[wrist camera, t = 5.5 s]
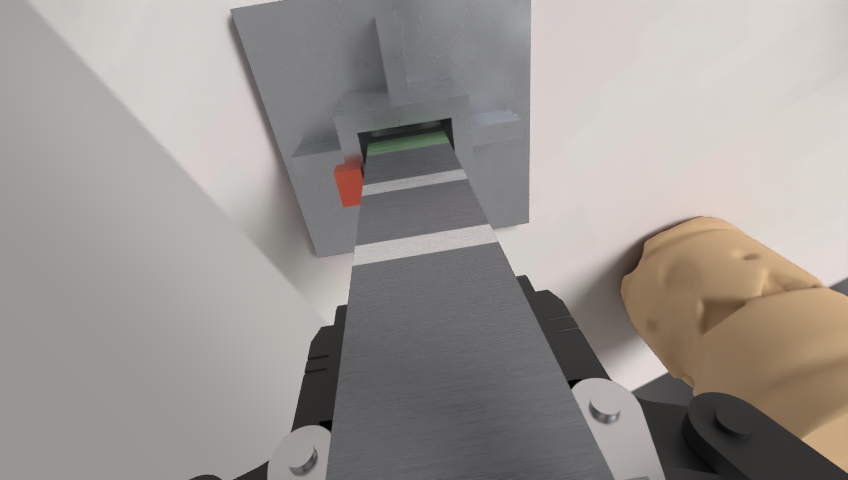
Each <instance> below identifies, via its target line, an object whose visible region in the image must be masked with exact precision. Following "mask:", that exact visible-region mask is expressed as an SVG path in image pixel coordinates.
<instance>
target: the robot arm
mask: <svg viewBox="0 0 848 480" xmlns="http://www.w3.org/2000/svg"><path fill="white" fill-rule="evenodd" d="M516 278H517V280H518V283H519V285H520V287H521V289H522V291H523V293H524V295H525V297H526V299H527V301H528V303H529V305H530V307H531V309H532V311H533V313H534V315H535V317H536V319H537V321H538V323H539V325H540V327H541V329H542V332H543V334H544V336H545V338H546V340H547V342H548V344H549V346H550V348H551V350H552V352H553V354H554V356H555V358H556V360H557V362H558V364H559V366H560V368H561V370H562V372H563V374H564V376H565V378H566V380H567V383H568V385H569V387H570V389H571V391H572V393H573V395H574V397H575V399H576V401H577V403H578V405H579V407H580V409H581V411H582V413H583V415H584V417H585V419H586V421H587V423H588V425H589V427H590V429H591V432H592V434H593V436H594V438H595V440H596V442H597V444H598V446H599V448H600V450H601V452H602V454H603V456H604V458H605V460H606V462H607V464H608V466H609V468H610V470H611V472H612V474H613V476H614V478H615V480H626V479H632V478H638V477H644V476H648V478H649V479H650V480H848V473H847V472H845V471H844V470H843V469H841V468H840V467H838V466H837V465H836V464H834V463H833V462H831V461H830V460H829V459H827V458H826V457H824V456H823V455H822V454H820V453H819V452H817V451H816V450H815V449H813V448H812V447H810V446H809V445H808V444H806V443H805V442H803V441H802V440H801V439H799V438H798V437H796V436H795V435H794V434H792V433H791V432H789V431H788V430H787V429H785V428H784V427H782V426H781V425H780V424H778V423H777V422H775V421H774V420H773V419H771V418H770V417H768V416H767V415H766V414H764V413H763V412H761V411H760V410H759V409H757V408H756V407H754V406H753V405H751V404H750V403H748V402H746V401H744V400H742V399H740V398H737V397H735V396H732V395H729V394H725V393H720V392H705V393H701V394H699V395H697V396H695V397H694V398H693V399H692V400H691V401H690V403H689V406H681V405H674V404H666V403H658V402H651V401H646V400H643V399H640V398H637V397H635V396H633V394H632V393H631V392H630V391H628V390H627V389H626V388H624V387H623V386H621V385H619V384H618V383H616V382H613V381H612V380H611V379H610V377H609V376H608V375H607V373H606V371H605V370H604V368H603V367H602V365H601V363H600V362H599V360H598V358H597V357H596V355H595V353H594V352H593V350H592V348H591V347H590V345H589V344H588V342H587V340H586V339H585V337H584V335H583V334H582V332H581V330H579V329H578V325H577V324H576V322H575V321H574V319H573V318H572V317H571V314H570V312H569V311H568V309H567V307H566V306H565V304H564V303H563V301H562V300H561V299H560V298H558V297H557V296H555V295H554V294H553V293H551V292H550V291H549V290H543V291H537V292H535V290H534V288H533V287H532V285H531V283H530V281H529V279H528V277H527V276H526V275H523V276H517V277H516ZM347 306H348V304H347V305H341V306H338V307H337V309H336V315H335V321H334V325H331V326H325V327H321V329H320V330H319V331H318V333H317V334H316V336H315V337H314V339H313V340H312V342H311V345H310V350H309V354H308V361H307V363H306V368H305V375H304V377H303V381H302V386H301V390H300V395H299V399H298V404H297V408H296V413H295V417H294V422H293V426H292V430H291V433H290V434H288V435H287V436H286V437H285V438H284V439H283V440H282V441H281V442H280V443H279V444H278V446H277V447H276V448H275V450H274V451H273V453H272V456H271V458H270V460H269V461H267V462H266V463H264V464H263V465H261V466H259V467H258V468H256V469H254V470H252V471H250V472H248V473H246V474H244V475H242V476H240V477H238V478H236V479H234V480H325V478H326V470H327V462H328V454H329V447H330V439H331V431H332V423H333V415H334V407H335V400H336V392H337V384H338V376H339V368H340V360H341V353H342V345H343V337H344V329H345V321H346V313H347ZM190 480H221V479H220V478H219V477H216V476H214V475H201V476H197V477H195V478H193V479H190Z"/></svg>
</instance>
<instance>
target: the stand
mask: <svg viewBox="0 0 848 480" xmlns="http://www.w3.org/2000/svg"><path fill="white" fill-rule="evenodd" d="M230 11H231V13H232V16H233V19H234V22H235V25H236V28H237V30H238V33H239V36H240V39H241V42H242V45H243V47H244V50H245V53H246V56H247V59H248V62H249V64H250V67H251V70H252V73H253V76H254V79H255V81H256V84H257V87H258V90H259V93H260V96H261V98H262V101H263V104H264V107H265V110H266V113H267V115H268V118H269V121H270V124H271V127H272V130H273V132H274V135H275V138H276V141H277V144H278V147H279V149H280V152H281V155H282V158H283V161H284V164H285V166H286V169H287V172H288V175H289V178H290V180H291V183H292V186H293V189H294V192H295V195H296V197H297V200H298V203H299V206H300V209H301V212H302V214H303V217H304V220H305V223H306V226H307V229H308V231H309V234H310V237H311V240H312V243H313V246H314V248H315V251H316V254H317V257H318V258H320V257H326V256H332V255H338V254H344V253H350V252H354V251H355V243H356V235H357V227H358V220H359V212H360V204H361V196H362V188H363V180H364V173H365V165H366V157H367V149H368V141H369V138H372V137H378V136H384V135H390V134H396V133H402V132H408V131H414V130H420V129H426V128H432V127H438V126H442V127H443V129H444V132H445V134H446V136H447V138H448V140H449V142H450V144H451V146H452V148H453V150H454V152H455V154H456V156H457V158H458V160H459V162H460V164H461V166H462V168H463V170H464V172H465V174H466V176H467V178H468V180H469V183H470V185H471V187H472V189H473V191H474V193H475V195H476V197H477V199H478V201H479V203H480V205H481V207H482V209H483V211H484V213H485V215H486V217H487V219H488V221H489V223H490V225H491V227H492V229H495V228H501V227H507V226H513V225H519V224H525V223H529V154H530V49H531V0H283V1H277V2H271V3H265V4H259V5H253V6H246V7H240V8H234V9H230Z"/></svg>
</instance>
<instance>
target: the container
mask: <svg viewBox="0 0 848 480" xmlns="http://www.w3.org/2000/svg"><path fill="white" fill-rule="evenodd" d="M643 249H644V251H643V255H642V258H641V259H640V261H639V264H638V266H637V268H636V269H635V270H634V271H633V272H631V273H630V274H628V275H624V277H623V280H622V286H621V296H622V299H623V302H624V304H625V307H626V310H627V313H628V315H629V317H630V320H631V322H632V325H633V327H634V328H635V329H636V331H637V332H638V333H639V334H640V336H641V337H642V338H643V340H644V341H645V342H646V343H647V345H648V346H649V347H650V349H651V350H652V351H653V352H654V354H655V355H656V356H657V357H658V359H659V360H660V361H661V362H662V364H663V365H664V366H665V367H666V369H667V370H668V371H669V373H670V374H671V375H672V376H673V377H674V378H681V379H683V380H684V381H685V382H686V383H687V384H689V385H690V386H691V387H693V388H694V391H693V394H694V396H697V395H699V394H701V393H705V392H720V393H725V394H729V395H732V396H735V397H737V398H740V399H742V400H744V401H746V402H748V403H750V404H751V405H753V406H754V407H756V408H757V409H759V410H760V411H761V412H763V413H764V414H766V415H767V416H768V417H770V418H771V419H773V420H774V421H775V422H777V423H778V424H780V425H781V426H782V427H784V428H785V429H787V430H788V431H789V432H791V433H792V434H794V435H795V436H796V437H798V438H799V439H801V440H802V441H803V442H805V443H806V444H808V445H809V446H810V447H812V448H813V449H815V450H816V451H817V452H819V453H820V454H822V455H823V456H824V457H826V458H827V459H829V460H830V461H831V462H833V463H834V464H836V465H837V466H838V467H840V468H841V469H843V470H844V471H845V472H847V473H848V297H847V296H845V295H844V294H841V293H839V292H836V291H834V290H831V289H829V288H827V287H826V286H824V285H823V284H822V283H821V282H820V280H818V279H817V278H816V277H815V276H813V275H811V274H810V273H808V272H807V271H805V270H803V269H802V268H800V267H799V266H797V265H795V264H794V263H792V262H790V261H789V260H787V259H786V258H784V257H782V256H781V255H779V254H778V253H776V252H774V251H773V250H771V249H770V248H768V247H766V246H765V245H763V244H761V243H760V242H758V241H757V240H755V239H753V238H752V237H750V236H748V235H746V234H744V233H743V232H742V231H740V230H739V229H737V228H736V227H734V226H733V225H731V224H729V223H727V222H726V221H723V220H721V219H717V218H712V217H702V216H699V217H696V218H694V219H691V220H689V221H686V222H683V223H681V224H679V225H677V226H675V227H673V228H671V229H668V230H666V231H663V232H660V233H659V234H657V235H656V236H654V237H652V238H650V239H649V240H647V241H646V242H645V243H644V247H643Z"/></svg>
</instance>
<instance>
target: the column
mask: <svg viewBox="0 0 848 480" xmlns="http://www.w3.org/2000/svg"><path fill="white" fill-rule="evenodd" d="M325 480H615V478H614V476H613V474H612V472H611V470H610V468H609V466H608V464H607V462H606V460H605V458H604V456H603V454H602V452H601V450H600V448H599V446H598V444H597V442H596V440H595V438H594V436H593V434H592V432H591V429H590V427H589V425H588V423H587V421H586V419H585V417H584V415H583V413H582V411H581V409H580V407H579V405H578V403H577V401H576V399H575V397H574V395H573V393H572V391H571V389H570V387H569V385H568V383H567V380H566V378H565V376H564V374H563V372H562V370H561V368H560V366H559V364H558V362H557V360H556V358H555V356H554V354H553V352H552V350H551V348H550V346H549V344H548V342H547V340H546V338H545V336H544V334H543V332H542V329H541V327H540V325H539V323H538V321H537V319H536V317H535V315H534V313H533V311H532V309H531V307H530V305H529V303H528V301H527V299H526V297H525V295H524V293H523V291H522V289H521V287H520V285H519V283H518V280H517V278H516V276H515V274H514V272H513V270H512V268H511V266H510V264H509V262H508V260H507V258H506V256H505V254H504V252H503V250H502V248H501V246H500V244H499V242H498V240H497V238H496V236H495V234H494V232H493V229H492V227H491V225H490V223H489V221H488V219H487V217H486V215H485V213H484V211H483V209H482V207H481V205H480V203H479V201H478V199H477V197H476V195H475V193H474V191H473V189H472V187H471V185H470V183H469V180H468V178H467V176H466V174H465V172H464V170H463V168H462V166H461V164H460V162H459V160H458V158H457V156H456V154H455V152H454V150H453V148H452V146H451V144H450V142H449V140H448V138H447V136H446V134H445V132H444V129H443V127H442V126H438V127H432V128H426V129H420V130H414V131H408V132H402V133H396V134H390V135H384V136H378V137H372V138H369V141H368V149H367V157H366V165H365V173H364V180H363V188H362V196H361V204H360V212H359V220H358V227H357V235H356V243H355V251H354V259H353V266H352V274H351V282H350V290H349V298H348V306H347V313H346V321H345V329H344V337H343V345H342V353H341V360H340V368H339V376H338V384H337V392H336V400H335V407H334V415H333V423H332V431H331V439H330V447H329V454H328V462H327V470H326V478H325ZM626 480H650V479H649V478H648V476H644V477H638V478H632V479H626Z"/></svg>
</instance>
